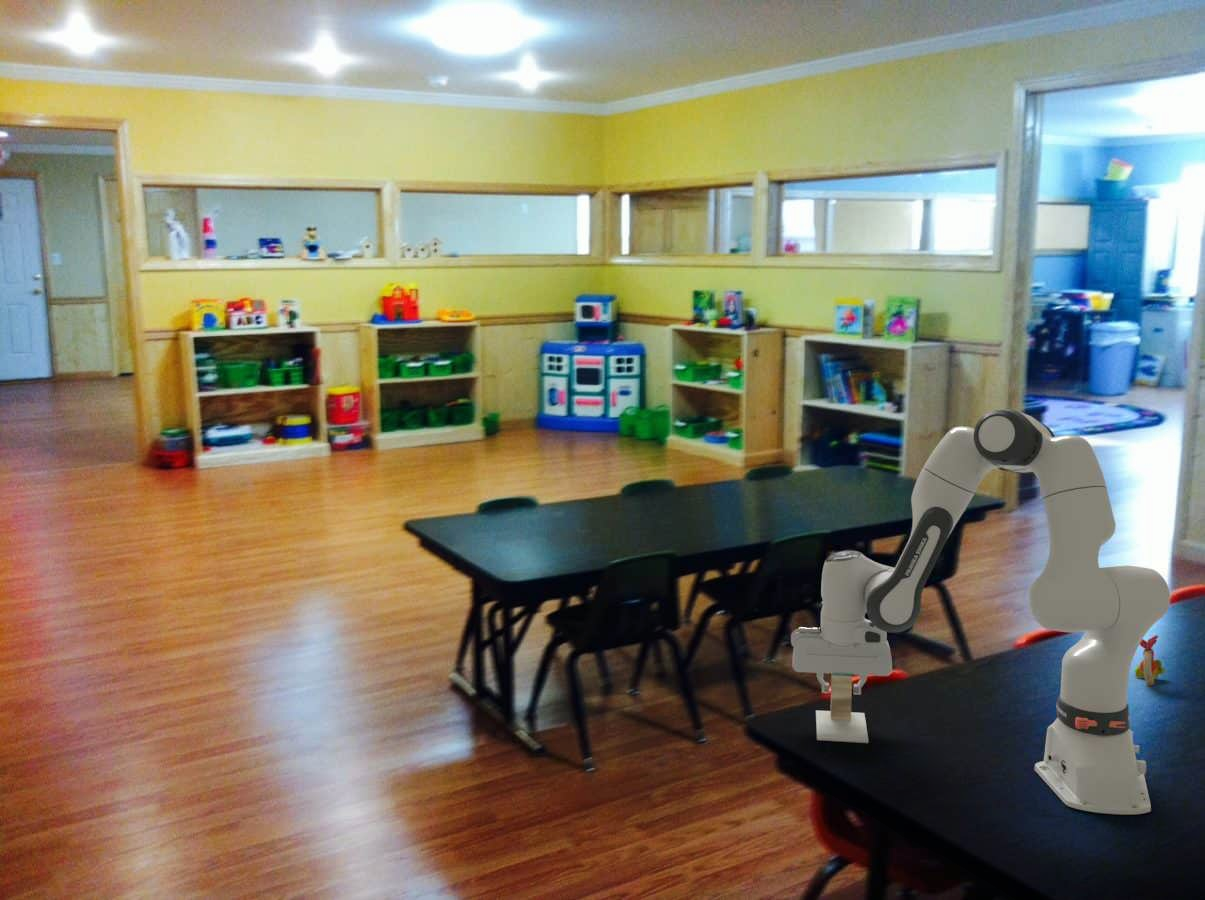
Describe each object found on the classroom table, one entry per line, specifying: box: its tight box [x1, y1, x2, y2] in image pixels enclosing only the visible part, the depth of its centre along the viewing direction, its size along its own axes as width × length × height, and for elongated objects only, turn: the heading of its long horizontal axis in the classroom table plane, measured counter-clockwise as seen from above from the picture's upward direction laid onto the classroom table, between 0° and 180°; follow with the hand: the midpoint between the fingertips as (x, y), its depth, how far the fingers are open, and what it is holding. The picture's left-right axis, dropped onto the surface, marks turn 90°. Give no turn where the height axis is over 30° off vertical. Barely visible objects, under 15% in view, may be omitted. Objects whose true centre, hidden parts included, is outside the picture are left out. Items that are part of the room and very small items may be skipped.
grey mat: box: [815, 710, 869, 744], centre depth 223 cm, size 14×10×1 cm
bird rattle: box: [1134, 634, 1166, 687], centre depth 244 cm, size 6×11×9 cm
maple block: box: [830, 673, 853, 721], centre depth 227 cm, size 4×4×10 cm
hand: (841, 692), depth 227 cm, fingers open, 5 cm apart
